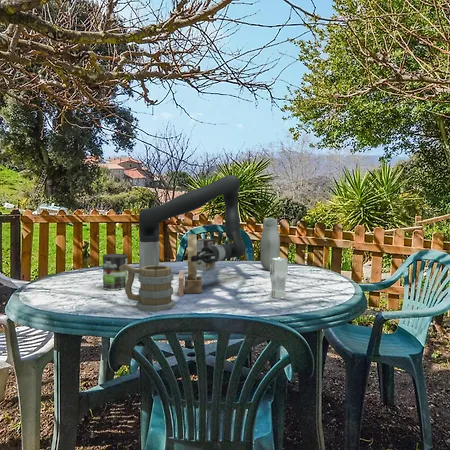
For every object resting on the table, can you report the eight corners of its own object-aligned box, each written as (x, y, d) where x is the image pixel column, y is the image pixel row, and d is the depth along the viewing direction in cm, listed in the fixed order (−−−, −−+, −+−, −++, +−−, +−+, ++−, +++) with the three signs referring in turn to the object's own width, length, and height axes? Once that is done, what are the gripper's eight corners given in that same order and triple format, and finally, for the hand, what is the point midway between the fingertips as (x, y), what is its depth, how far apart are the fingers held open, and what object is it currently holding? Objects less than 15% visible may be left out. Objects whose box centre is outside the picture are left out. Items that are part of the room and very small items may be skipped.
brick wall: (178, 295, 166) (178, 278, 165) (179, 287, 182) (179, 271, 181) (183, 295, 166) (183, 278, 165) (183, 287, 182) (183, 270, 181)
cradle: (184, 293, 169) (184, 280, 169) (184, 288, 178) (184, 276, 178) (201, 292, 170) (201, 280, 170) (201, 288, 179) (201, 276, 179)
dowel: (187, 288, 172) (187, 235, 171) (188, 287, 176) (187, 234, 174) (196, 288, 172) (196, 235, 171) (196, 286, 176) (196, 234, 174)
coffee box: (205, 270, 221) (205, 240, 220) (195, 269, 225) (195, 239, 224) (215, 268, 228) (215, 239, 227) (206, 267, 232) (206, 238, 231)
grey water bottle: (259, 268, 229) (260, 216, 227) (278, 268, 229) (279, 217, 227) (260, 271, 220) (261, 217, 218) (280, 271, 219) (281, 218, 217)
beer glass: (275, 299, 160) (276, 260, 159) (265, 295, 167) (266, 258, 165) (290, 297, 164) (291, 259, 163) (280, 293, 170) (281, 257, 169)
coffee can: (118, 291, 173) (118, 257, 172) (97, 289, 176) (97, 256, 175) (132, 286, 182) (132, 254, 181) (112, 284, 186) (112, 253, 185)
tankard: (178, 303, 155) (178, 262, 154) (166, 312, 143) (166, 268, 141) (128, 299, 159) (128, 260, 158) (112, 308, 147) (111, 266, 146)
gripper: (200, 244, 189) (174, 248, 175) (226, 246, 181) (201, 250, 166) (200, 260, 189) (174, 266, 175) (226, 263, 181) (201, 269, 167)
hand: (187, 258), depth 171 cm, fingers closed on dowel, 3 cm apart
